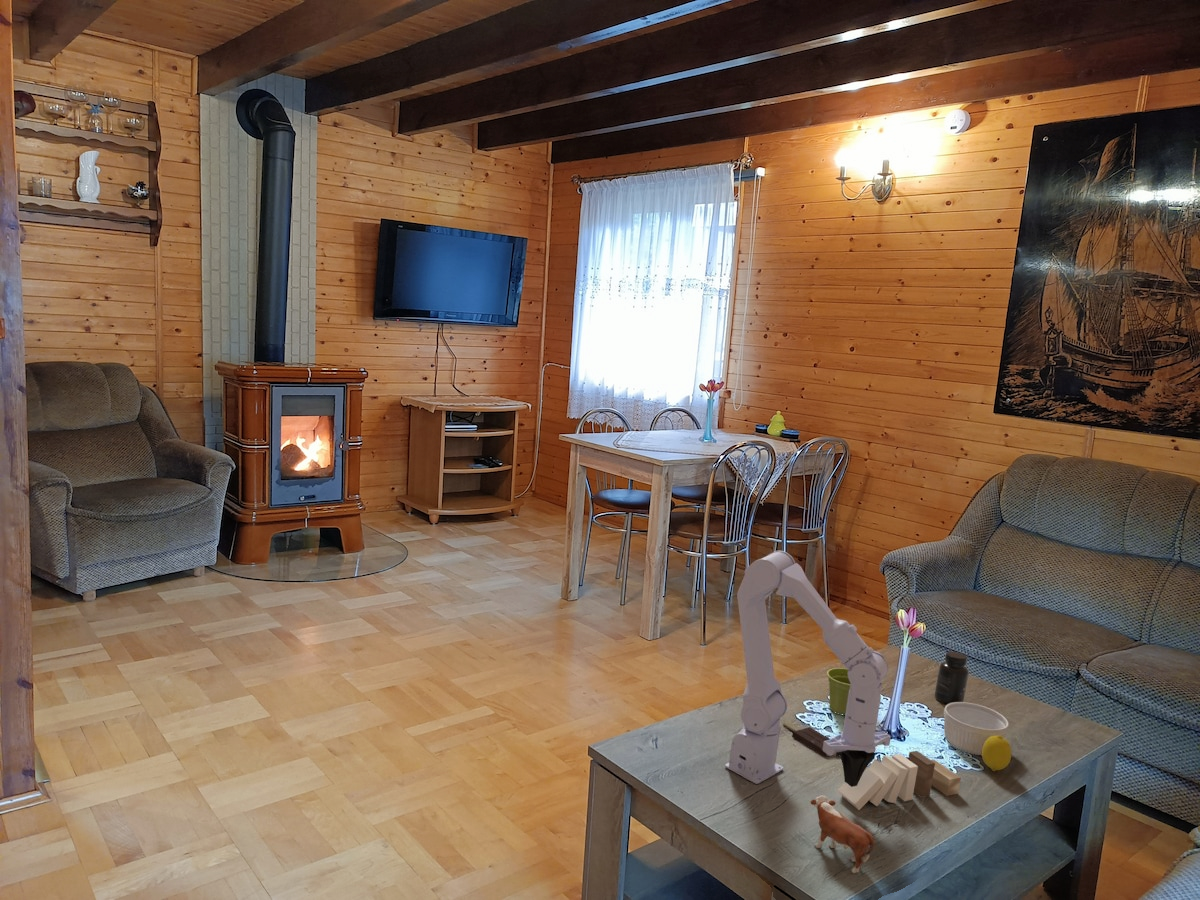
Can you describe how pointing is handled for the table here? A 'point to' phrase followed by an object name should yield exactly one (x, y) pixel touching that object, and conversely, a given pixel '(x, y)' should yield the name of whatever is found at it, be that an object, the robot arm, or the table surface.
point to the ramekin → (972, 725)
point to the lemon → (996, 752)
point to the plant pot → (838, 689)
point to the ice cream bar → (809, 738)
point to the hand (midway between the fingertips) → (850, 783)
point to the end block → (945, 779)
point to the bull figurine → (842, 832)
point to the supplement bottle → (952, 679)
